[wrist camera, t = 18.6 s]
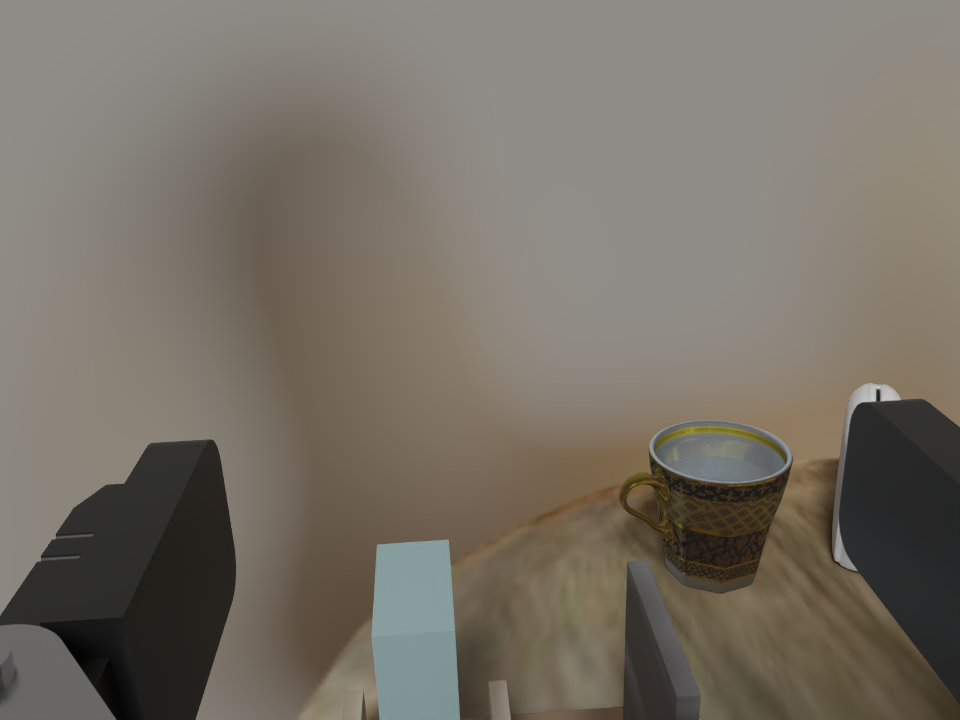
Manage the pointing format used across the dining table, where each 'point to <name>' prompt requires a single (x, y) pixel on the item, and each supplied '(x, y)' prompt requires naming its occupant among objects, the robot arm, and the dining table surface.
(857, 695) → the dining table surface
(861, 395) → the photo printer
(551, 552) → the dining table surface
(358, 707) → the book rack
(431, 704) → the book
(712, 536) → the ceramic cup
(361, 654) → the dining table surface
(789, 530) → the dining table surface
